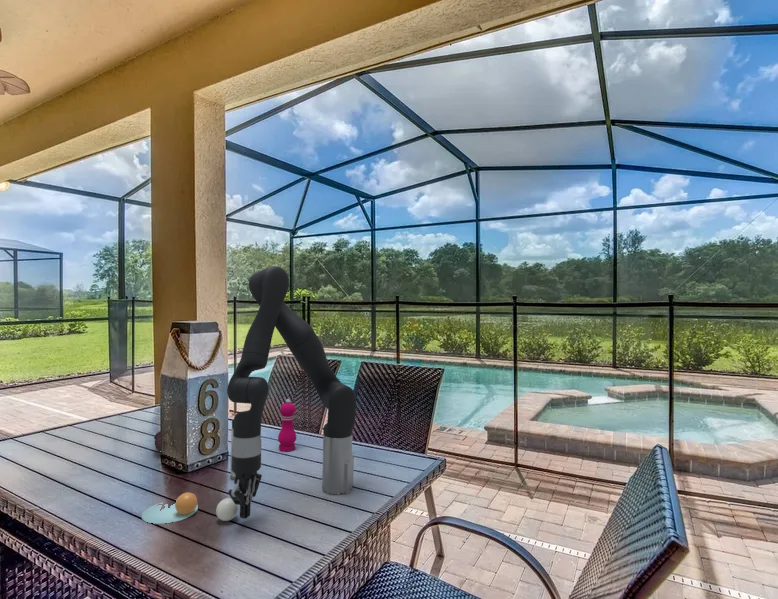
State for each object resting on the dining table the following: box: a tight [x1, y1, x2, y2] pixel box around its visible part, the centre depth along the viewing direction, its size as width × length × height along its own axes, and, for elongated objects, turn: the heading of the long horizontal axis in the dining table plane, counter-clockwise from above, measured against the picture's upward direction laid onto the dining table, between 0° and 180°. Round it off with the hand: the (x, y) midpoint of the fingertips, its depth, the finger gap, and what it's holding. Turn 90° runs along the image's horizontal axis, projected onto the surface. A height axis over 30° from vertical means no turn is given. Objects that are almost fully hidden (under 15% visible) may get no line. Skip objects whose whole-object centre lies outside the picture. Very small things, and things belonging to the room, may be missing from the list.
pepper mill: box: [277, 398, 297, 452], centre depth 176 cm, size 7×7×20 cm
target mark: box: [141, 501, 199, 525], centre depth 122 cm, size 14×14×1 cm
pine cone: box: [153, 430, 162, 454], centre depth 168 cm, size 18×10×10 cm, turn 52°
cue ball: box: [215, 497, 239, 522], centre depth 118 cm, size 6×6×6 cm
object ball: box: [175, 492, 198, 515], centre depth 121 cm, size 6×6×6 cm
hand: (245, 516), depth 117 cm, fingers closed
